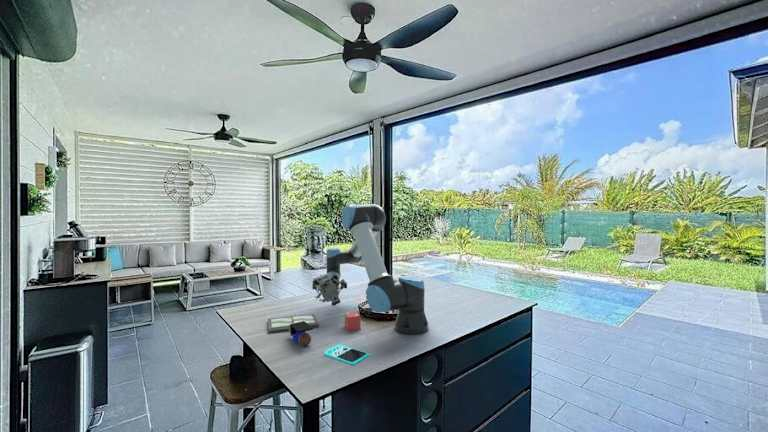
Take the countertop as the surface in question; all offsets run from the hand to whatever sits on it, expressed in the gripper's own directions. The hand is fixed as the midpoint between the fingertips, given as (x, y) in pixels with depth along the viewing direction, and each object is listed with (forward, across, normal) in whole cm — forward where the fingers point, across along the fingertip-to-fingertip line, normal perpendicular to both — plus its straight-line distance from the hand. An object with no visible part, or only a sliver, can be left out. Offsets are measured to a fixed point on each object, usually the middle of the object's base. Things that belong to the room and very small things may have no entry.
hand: (328, 290), depth 164 cm
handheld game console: (+35, -9, -17) cm, 40 cm away
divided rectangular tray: (0, +17, -16) cm, 23 cm away
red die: (+7, -11, -16) cm, 21 cm away
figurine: (-4, 0, -8) cm, 9 cm away
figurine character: (+20, +10, -16) cm, 28 cm away
